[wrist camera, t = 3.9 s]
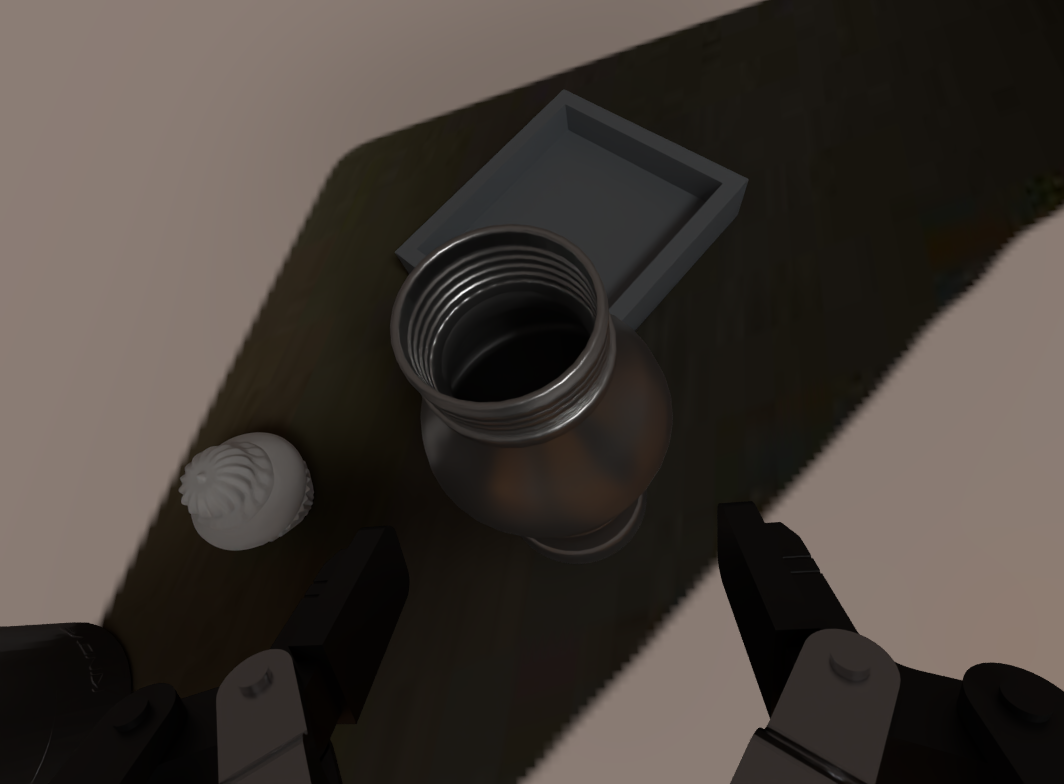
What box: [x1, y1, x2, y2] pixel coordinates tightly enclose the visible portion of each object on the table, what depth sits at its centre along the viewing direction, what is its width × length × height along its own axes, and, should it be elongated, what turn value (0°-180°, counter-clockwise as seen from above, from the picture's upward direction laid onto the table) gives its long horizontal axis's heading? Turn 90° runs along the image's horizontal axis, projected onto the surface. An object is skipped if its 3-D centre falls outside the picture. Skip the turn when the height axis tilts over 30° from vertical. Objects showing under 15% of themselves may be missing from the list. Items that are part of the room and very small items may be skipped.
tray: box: [395, 90, 749, 331], centre depth 31 cm, size 16×14×3 cm
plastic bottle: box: [390, 224, 673, 564], centre depth 18 cm, size 6×7×20 cm
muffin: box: [179, 432, 314, 551], centre depth 26 cm, size 6×6×7 cm
